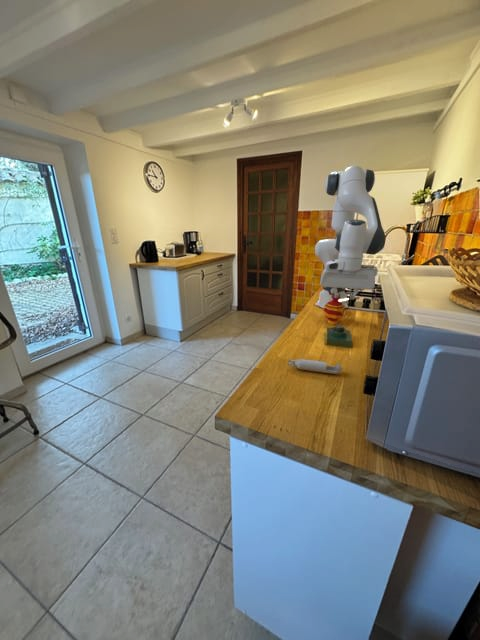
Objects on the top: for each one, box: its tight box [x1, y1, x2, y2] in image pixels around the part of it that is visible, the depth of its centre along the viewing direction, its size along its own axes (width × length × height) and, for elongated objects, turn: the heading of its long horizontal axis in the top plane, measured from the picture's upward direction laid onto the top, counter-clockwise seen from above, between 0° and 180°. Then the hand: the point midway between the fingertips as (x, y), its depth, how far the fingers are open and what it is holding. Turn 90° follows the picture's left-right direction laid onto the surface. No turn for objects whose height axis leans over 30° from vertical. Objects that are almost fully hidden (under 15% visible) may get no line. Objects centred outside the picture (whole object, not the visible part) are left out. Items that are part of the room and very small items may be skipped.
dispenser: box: [325, 326, 353, 348], centre depth 110 cm, size 12×10×5 cm
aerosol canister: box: [287, 358, 342, 375], centre depth 88 cm, size 18×5×6 cm, turn 75°
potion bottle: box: [322, 293, 345, 325], centre depth 127 cm, size 10×10×15 cm
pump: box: [334, 324, 345, 332], centre depth 109 cm, size 4×4×2 cm
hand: (344, 298), depth 104 cm, fingers open, 5 cm apart
